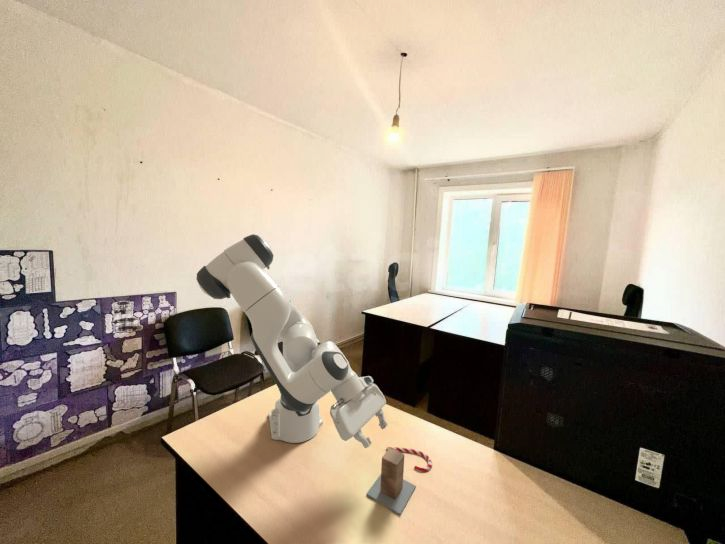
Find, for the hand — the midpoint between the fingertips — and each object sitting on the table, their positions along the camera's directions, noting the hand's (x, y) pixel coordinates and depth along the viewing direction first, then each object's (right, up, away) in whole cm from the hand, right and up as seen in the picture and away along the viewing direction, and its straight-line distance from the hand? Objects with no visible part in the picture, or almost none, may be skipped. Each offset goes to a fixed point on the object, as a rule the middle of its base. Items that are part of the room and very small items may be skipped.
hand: (377, 436), depth 80 cm
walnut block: (+4, -14, -2) cm, 14 cm away
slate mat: (+4, -14, -2) cm, 15 cm away
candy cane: (+10, -14, +11) cm, 20 cm away
